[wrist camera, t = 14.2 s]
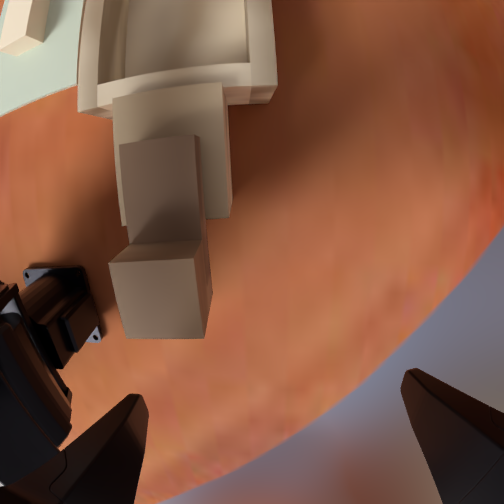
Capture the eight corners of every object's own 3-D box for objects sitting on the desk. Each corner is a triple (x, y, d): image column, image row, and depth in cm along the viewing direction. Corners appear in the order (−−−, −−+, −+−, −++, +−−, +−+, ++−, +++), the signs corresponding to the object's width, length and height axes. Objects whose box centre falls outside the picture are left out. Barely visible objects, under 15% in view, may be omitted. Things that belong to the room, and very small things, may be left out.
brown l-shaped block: (151, 295, 14) (126, 338, 10) (132, 145, 12) (93, 143, 8) (212, 292, 14) (204, 338, 10) (200, 137, 12) (182, 128, 8)
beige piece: (121, 208, 19) (78, 230, 13) (124, -37, 13) (98, -76, 7) (272, 197, 19) (286, 214, 13) (256, -55, 13) (261, -103, 7)
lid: (-6, 122, 16) (-32, 122, 13) (11, -1, 12) (-9, -11, 9) (83, 86, 16) (57, 77, 13) (97, -44, 12) (82, -62, 9)
